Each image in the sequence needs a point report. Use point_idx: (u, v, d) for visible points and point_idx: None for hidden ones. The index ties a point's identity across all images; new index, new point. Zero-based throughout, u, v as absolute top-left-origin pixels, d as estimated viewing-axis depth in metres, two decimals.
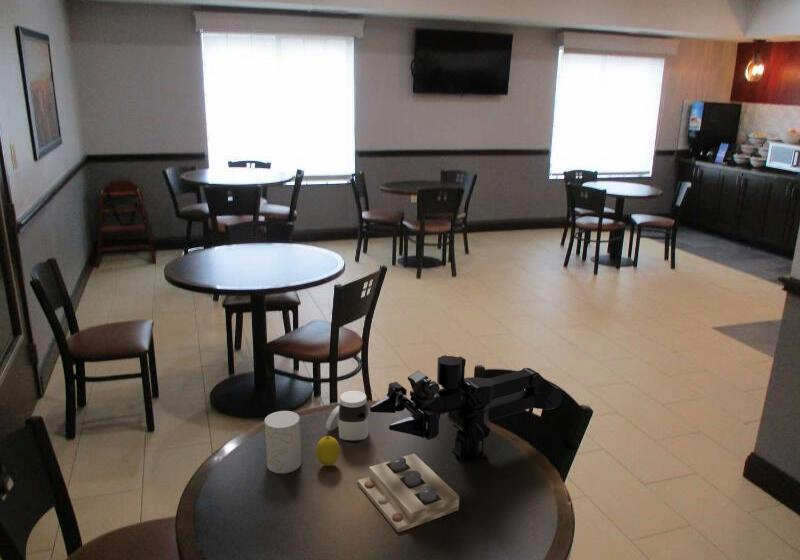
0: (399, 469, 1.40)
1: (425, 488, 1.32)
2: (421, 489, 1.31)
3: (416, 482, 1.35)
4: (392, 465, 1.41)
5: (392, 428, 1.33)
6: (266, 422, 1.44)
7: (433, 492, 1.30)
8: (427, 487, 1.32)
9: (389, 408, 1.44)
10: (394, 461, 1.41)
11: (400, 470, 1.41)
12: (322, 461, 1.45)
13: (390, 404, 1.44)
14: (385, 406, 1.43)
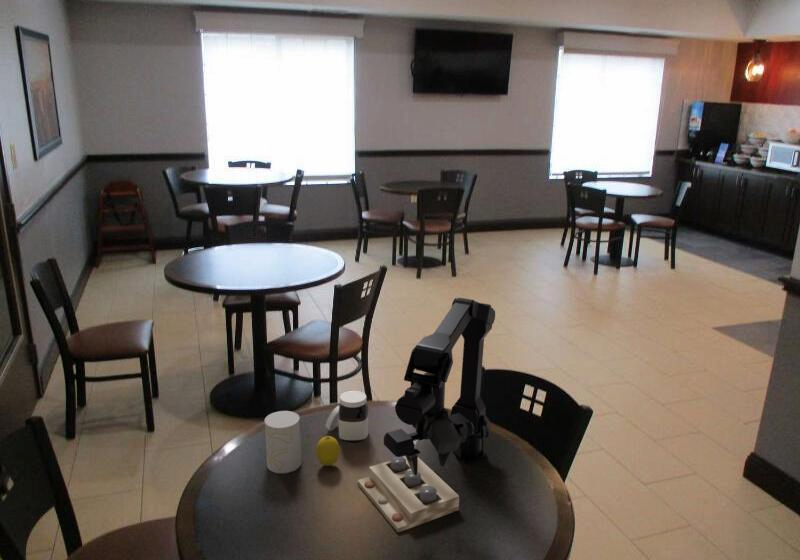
0: (399, 469, 1.40)
1: (425, 488, 1.32)
2: (421, 489, 1.31)
3: (416, 482, 1.35)
4: (392, 465, 1.41)
5: None
6: (266, 422, 1.44)
7: (433, 492, 1.30)
8: (427, 487, 1.32)
9: None
10: (394, 461, 1.41)
11: (400, 470, 1.41)
12: (322, 461, 1.45)
13: None
14: None
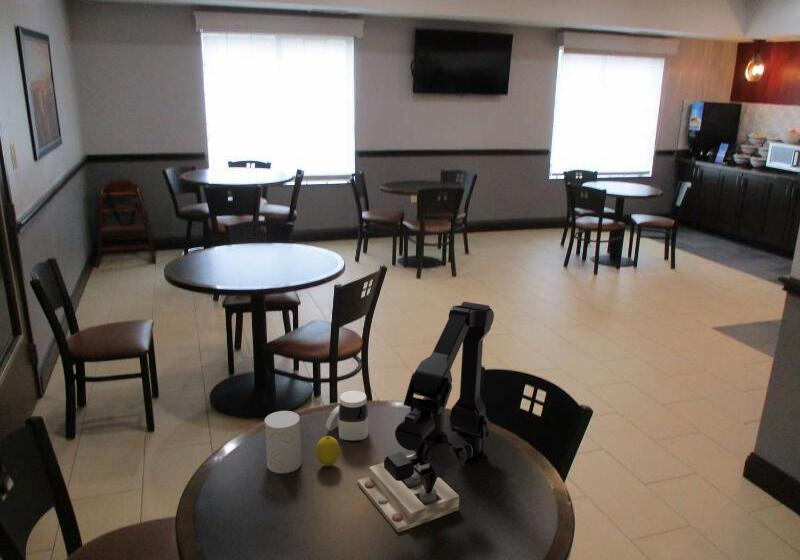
0: None
1: None
2: (421, 490, 1.31)
3: (416, 482, 1.35)
4: None
5: None
6: (266, 422, 1.44)
7: (433, 493, 1.30)
8: None
9: None
10: None
11: None
12: (322, 461, 1.45)
13: None
14: None
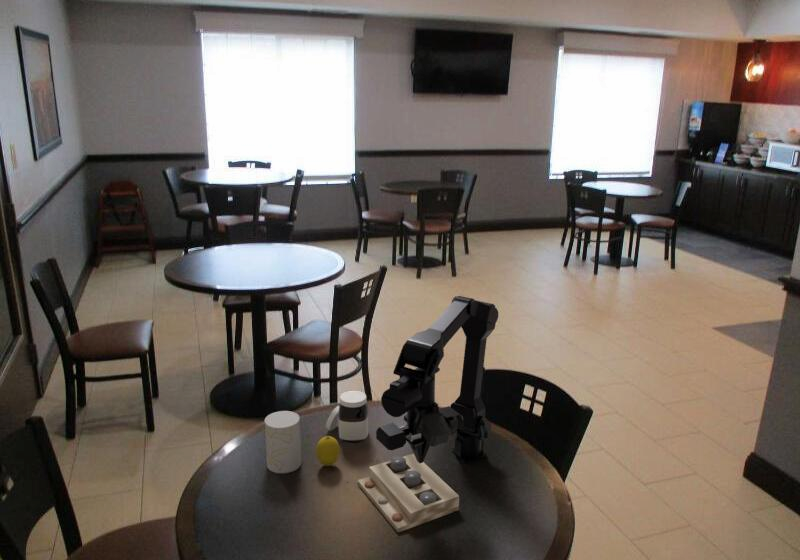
0: (399, 469, 1.40)
1: (425, 494, 1.32)
2: (421, 495, 1.32)
3: (416, 482, 1.35)
4: (392, 465, 1.41)
5: None
6: (266, 422, 1.44)
7: (433, 498, 1.31)
8: (427, 493, 1.32)
9: None
10: (394, 461, 1.41)
11: (400, 470, 1.41)
12: (322, 461, 1.45)
13: None
14: None
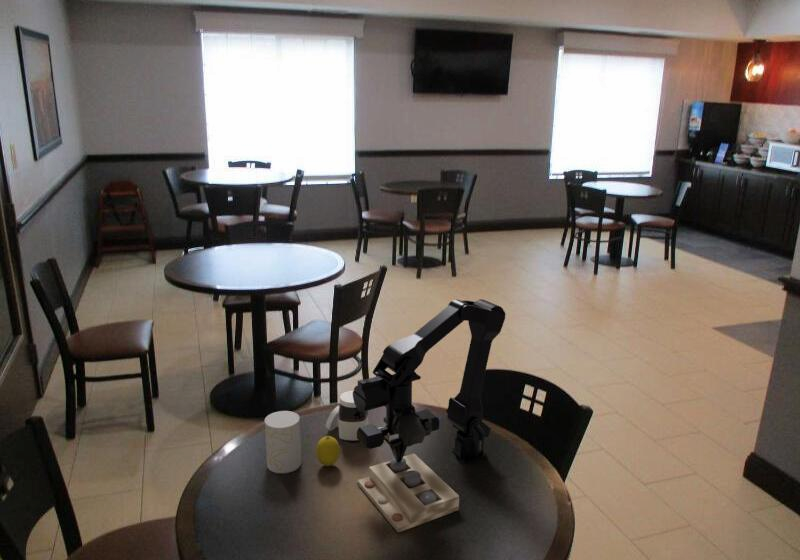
0: (399, 470, 1.40)
1: (425, 494, 1.32)
2: (421, 495, 1.32)
3: (416, 482, 1.35)
4: (392, 466, 1.41)
5: None
6: (266, 422, 1.44)
7: (433, 498, 1.31)
8: (427, 493, 1.32)
9: None
10: (394, 461, 1.42)
11: (400, 471, 1.41)
12: (322, 461, 1.45)
13: None
14: None
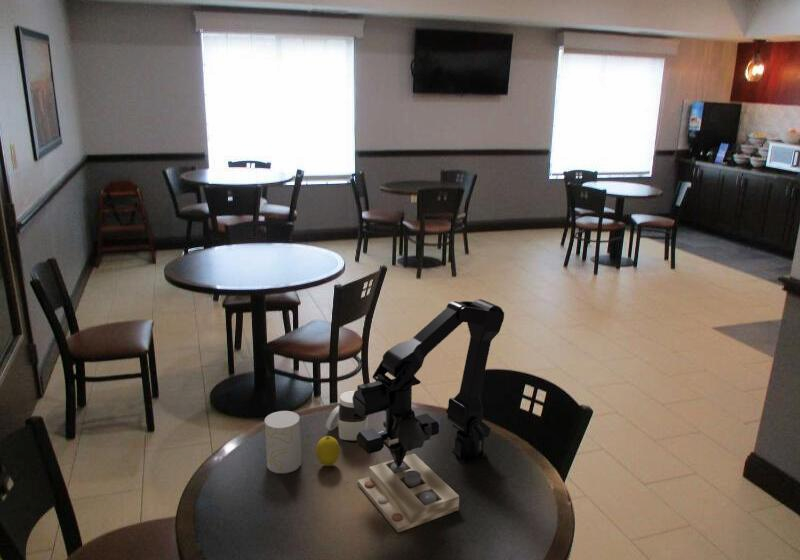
0: None
1: (425, 494, 1.32)
2: (421, 495, 1.32)
3: (416, 482, 1.35)
4: (392, 471, 1.41)
5: None
6: (266, 422, 1.44)
7: (433, 498, 1.31)
8: (427, 493, 1.32)
9: None
10: (394, 467, 1.42)
11: None
12: (322, 461, 1.45)
13: None
14: None
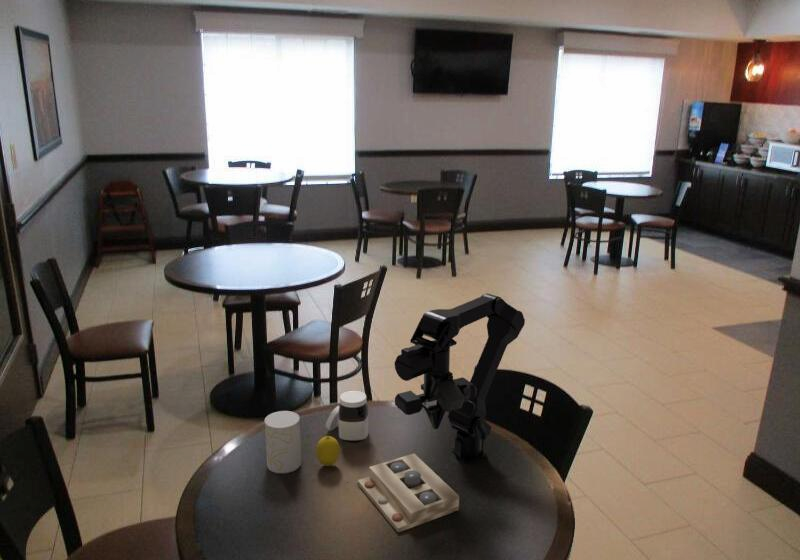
0: None
1: (425, 494, 1.32)
2: (421, 495, 1.32)
3: (416, 482, 1.35)
4: (392, 471, 1.41)
5: None
6: (266, 422, 1.44)
7: (433, 498, 1.31)
8: (427, 493, 1.32)
9: None
10: (394, 467, 1.42)
11: None
12: (322, 461, 1.45)
13: None
14: None
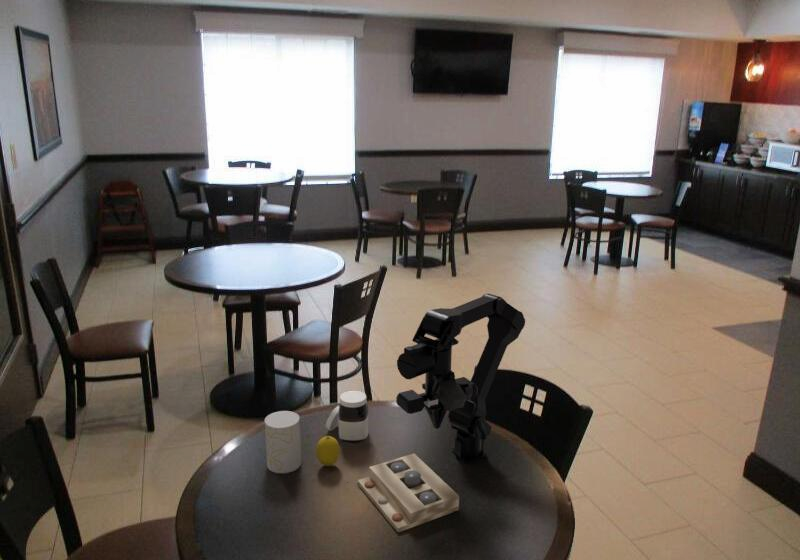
0: None
1: (425, 494, 1.32)
2: (421, 495, 1.32)
3: (416, 482, 1.35)
4: (392, 471, 1.41)
5: None
6: (266, 422, 1.44)
7: (433, 498, 1.31)
8: (427, 493, 1.32)
9: None
10: (394, 467, 1.42)
11: None
12: (322, 461, 1.45)
13: None
14: None
